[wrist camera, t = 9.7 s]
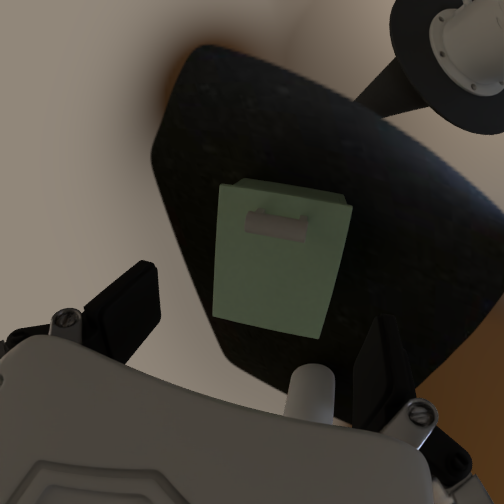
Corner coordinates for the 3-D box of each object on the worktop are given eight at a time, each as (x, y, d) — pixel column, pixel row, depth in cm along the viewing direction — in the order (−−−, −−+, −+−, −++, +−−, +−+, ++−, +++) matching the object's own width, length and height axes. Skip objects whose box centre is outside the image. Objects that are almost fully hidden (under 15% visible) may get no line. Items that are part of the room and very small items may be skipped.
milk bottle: (290, 361, 46) (266, 465, 28) (335, 361, 44) (329, 468, 26) (292, 390, 49) (272, 484, 31) (334, 390, 47) (325, 487, 29)
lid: (221, 183, 28) (201, 194, 23) (352, 205, 25) (358, 220, 21) (214, 312, 34) (198, 339, 29) (318, 335, 32) (316, 366, 27)
